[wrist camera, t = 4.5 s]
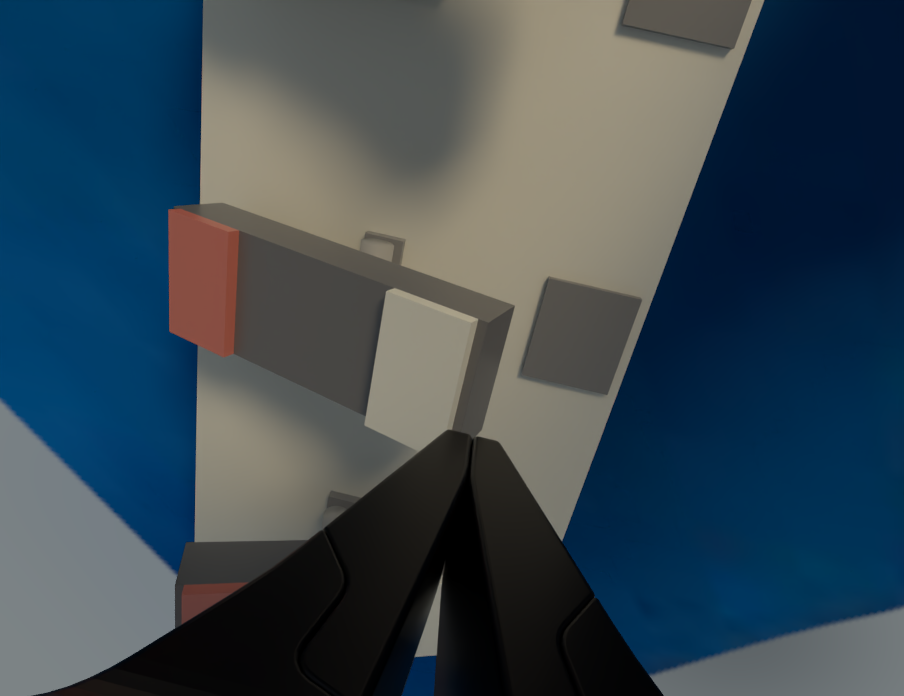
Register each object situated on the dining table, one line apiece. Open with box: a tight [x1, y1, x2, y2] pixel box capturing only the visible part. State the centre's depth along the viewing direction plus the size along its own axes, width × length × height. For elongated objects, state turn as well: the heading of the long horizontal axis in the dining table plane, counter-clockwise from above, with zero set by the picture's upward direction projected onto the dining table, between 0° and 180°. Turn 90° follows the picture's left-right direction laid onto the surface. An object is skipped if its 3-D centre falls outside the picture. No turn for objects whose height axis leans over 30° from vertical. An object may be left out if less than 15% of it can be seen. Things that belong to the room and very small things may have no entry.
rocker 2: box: [175, 506, 445, 657], centre depth 16 cm, size 8×3×3 cm, turn 79°
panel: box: [195, 0, 764, 542], centre depth 15 cm, size 12×30×3 cm, turn 168°
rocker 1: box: [169, 203, 515, 451], centre depth 13 cm, size 8×3×3 cm, turn 78°
